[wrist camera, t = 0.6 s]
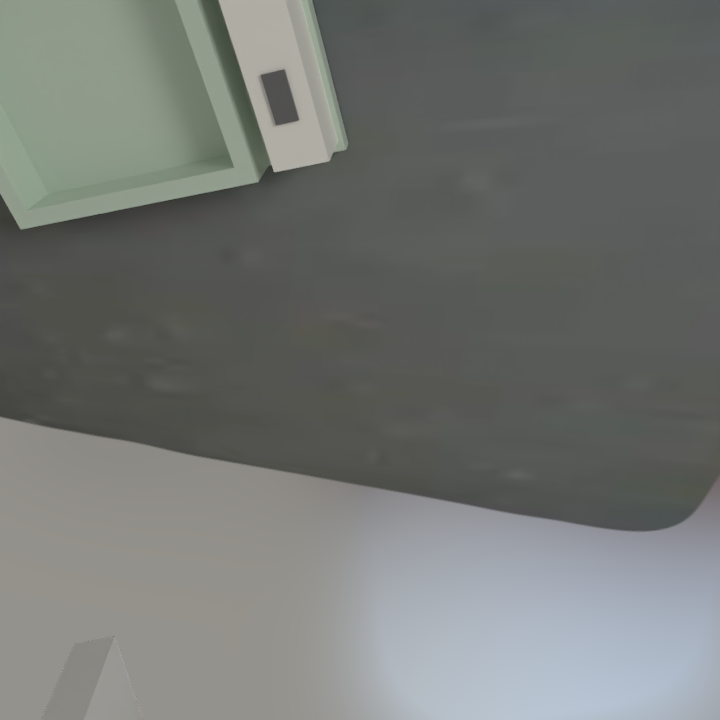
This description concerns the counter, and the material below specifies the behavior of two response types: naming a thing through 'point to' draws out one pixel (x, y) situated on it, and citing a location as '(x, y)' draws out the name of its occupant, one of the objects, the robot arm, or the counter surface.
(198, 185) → the dock
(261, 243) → the counter surface
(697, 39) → the counter surface
